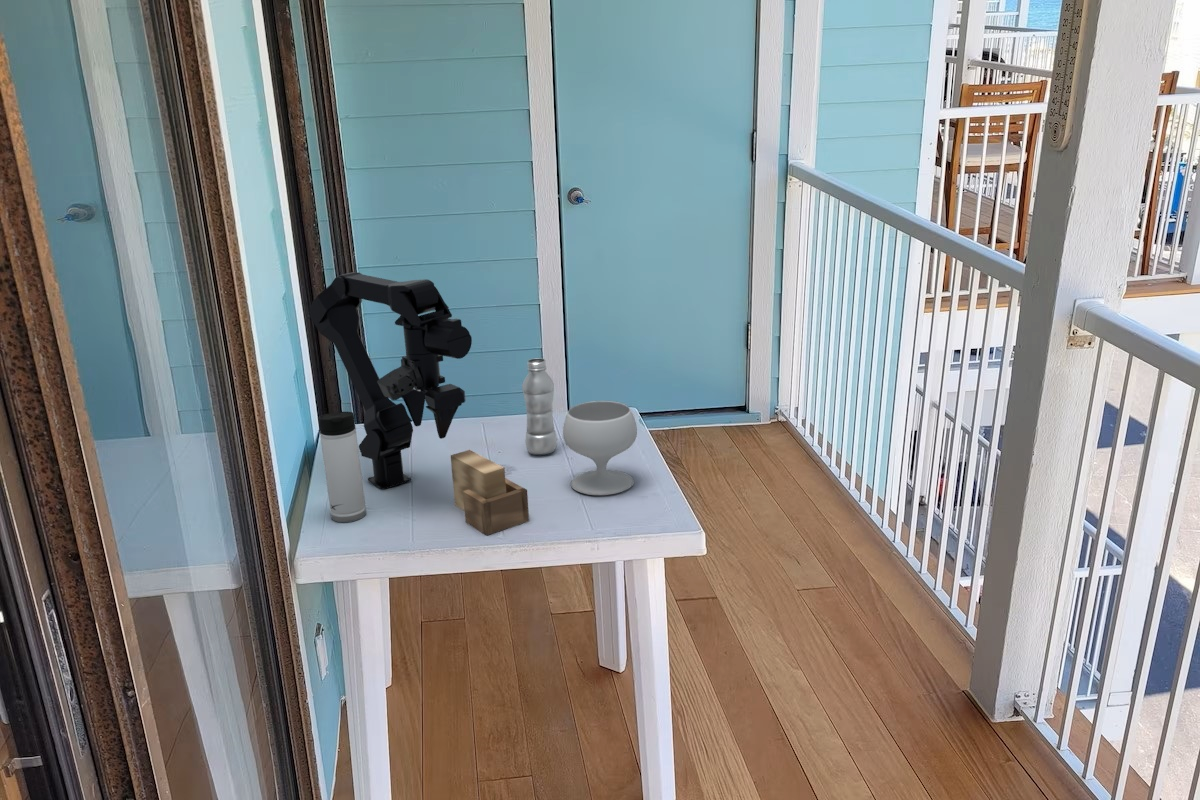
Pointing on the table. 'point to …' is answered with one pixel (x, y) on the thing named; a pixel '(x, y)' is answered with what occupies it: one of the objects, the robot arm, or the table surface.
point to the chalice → (600, 443)
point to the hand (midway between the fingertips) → (429, 431)
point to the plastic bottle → (539, 408)
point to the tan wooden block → (476, 476)
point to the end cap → (497, 509)
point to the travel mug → (342, 466)
